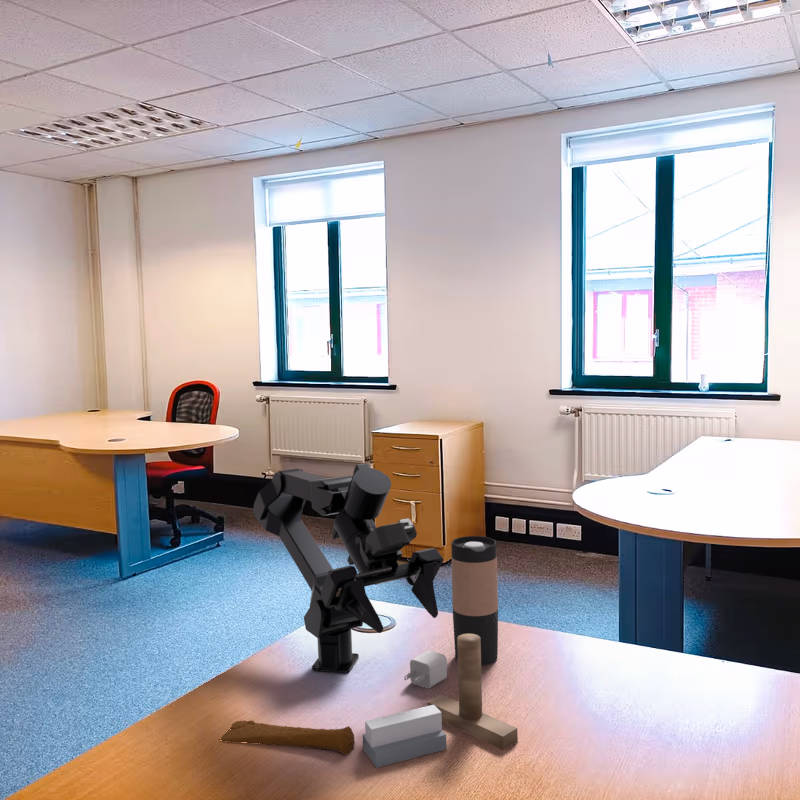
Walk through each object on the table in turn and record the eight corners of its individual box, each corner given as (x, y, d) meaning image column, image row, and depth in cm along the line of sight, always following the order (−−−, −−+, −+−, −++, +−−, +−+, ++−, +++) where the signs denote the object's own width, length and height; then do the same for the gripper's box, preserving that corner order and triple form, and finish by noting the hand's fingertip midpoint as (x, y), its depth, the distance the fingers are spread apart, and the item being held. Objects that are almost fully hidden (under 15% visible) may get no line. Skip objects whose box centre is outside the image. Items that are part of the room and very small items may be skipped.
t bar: (427, 715, 112) (424, 628, 111) (442, 707, 114) (440, 622, 113) (502, 751, 102) (501, 656, 101) (518, 742, 104) (516, 648, 103)
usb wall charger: (447, 679, 123) (446, 655, 123) (420, 696, 118) (419, 671, 118) (427, 673, 126) (426, 649, 125) (400, 689, 120) (399, 664, 120)
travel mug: (468, 644, 136) (465, 533, 134) (507, 654, 132) (505, 539, 130) (445, 660, 130) (442, 544, 128) (484, 671, 126) (482, 550, 124)
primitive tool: (216, 744, 107) (215, 719, 106) (235, 724, 112) (234, 701, 112) (348, 761, 101) (347, 736, 101) (361, 740, 107) (361, 715, 106)
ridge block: (376, 767, 99) (375, 734, 98) (362, 748, 103) (361, 716, 103) (446, 749, 103) (445, 716, 102) (430, 731, 107) (429, 700, 107)
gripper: (320, 513, 109) (367, 602, 99) (429, 495, 119) (481, 573, 109) (303, 564, 116) (345, 652, 106) (407, 543, 126) (455, 621, 116)
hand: (409, 623), depth 109 cm, fingers open, 9 cm apart
